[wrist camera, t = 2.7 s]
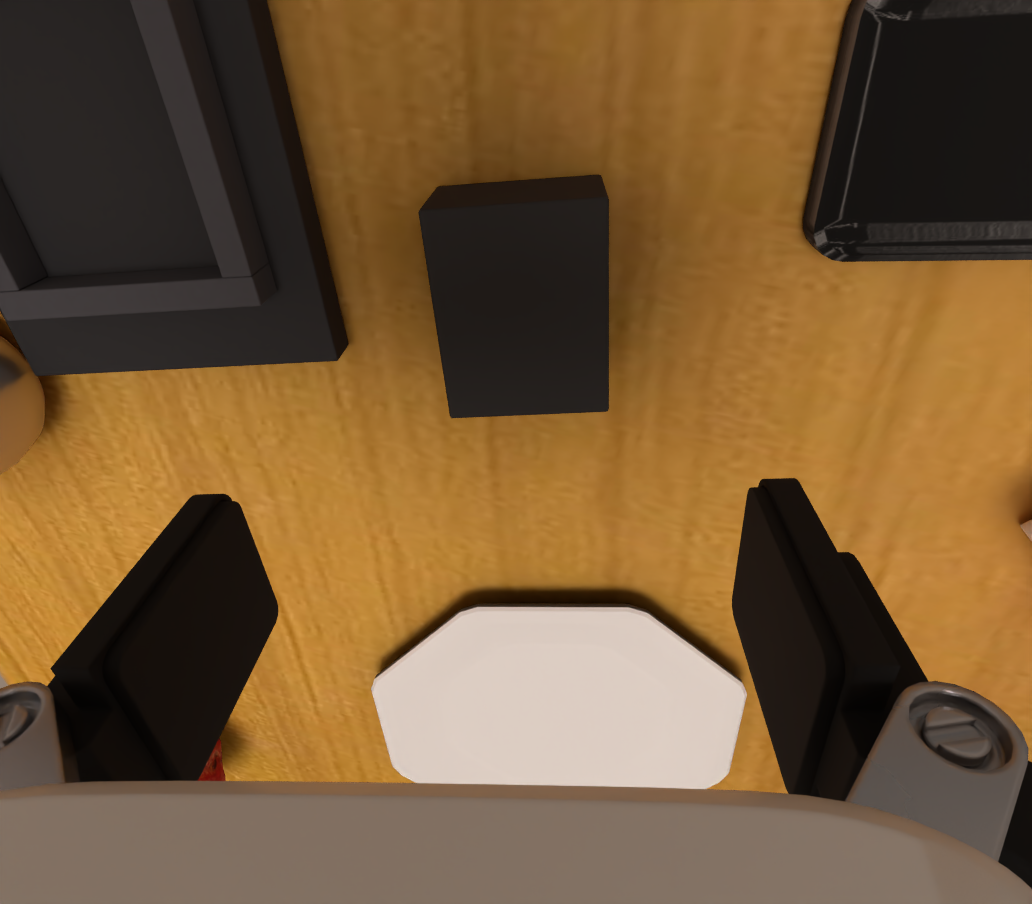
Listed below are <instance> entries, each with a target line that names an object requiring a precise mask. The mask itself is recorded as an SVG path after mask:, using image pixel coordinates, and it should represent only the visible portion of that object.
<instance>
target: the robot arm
mask: <svg viewBox="0 0 1032 904" xmlns="http://www.w3.org/2000/svg"><path fill="white" fill-rule="evenodd" d="M732 609H733V616H734V620H735V623H736V626H737V630H738V633H739V636H740V639H741V643H742V646H743V649H744V653H745V656H746V659H747V662H748V666H749V669H750V672H751V675H752V679H753V682H754V685H755V689H756V692H757V695H758V698H759V702H760V705H761V708H762V712H763V715H764V718H765V721H766V725H767V728H768V731H769V735H770V738H771V741H772V744H773V748H774V751H775V754H776V758H777V761H778V764H779V767H780V771H781V774H782V777H783V781H784V784H785V787H786V789H787V791H788V793H789V794H783V793H771V792H759V791H740V790H712V789H684V788H656V787H610V786H558V785H506V784H441V783H369V782H275V781H198V779H199V778H200V776H201V774H202V772H203V770H204V768H205V766H206V764H207V762H208V760H209V758H210V756H211V753H212V751H213V749H214V747H215V745H216V743H217V741H218V739H219V737H220V735H221V733H222V731H223V729H224V727H225V725H226V723H227V721H228V719H229V717H230V715H231V713H232V711H233V709H234V707H235V705H236V703H237V701H238V699H239V696H240V694H241V692H242V690H243V688H244V686H245V684H246V682H247V680H248V678H249V676H250V674H251V672H252V670H253V668H254V666H255V664H256V662H257V660H258V658H259V656H260V654H261V652H262V650H263V648H264V646H265V644H266V642H267V639H268V637H269V635H270V633H271V631H272V629H273V627H274V625H275V623H276V620H277V617H278V604H277V600H276V598H275V595H274V592H273V590H272V587H271V585H270V582H269V579H268V577H267V574H266V571H265V569H264V566H263V564H262V561H261V558H260V556H259V553H258V550H257V548H256V545H255V542H254V540H253V537H252V535H251V532H250V529H249V527H248V524H247V521H246V519H245V516H244V513H243V511H242V508H241V506H240V504H239V503H238V502H235V501H232V499H231V498H230V497H229V496H228V495H226V494H200V495H194V496H192V497H191V498H190V499H189V500H188V501H187V502H186V503H185V504H184V506H183V507H182V508H181V509H180V511H179V512H178V513H177V514H176V516H175V517H174V518H173V519H172V520H171V522H170V523H169V524H168V525H167V527H166V528H165V529H164V530H163V531H162V533H161V534H160V535H159V536H158V538H157V539H156V540H155V541H154V542H153V544H152V545H151V546H150V547H149V549H148V550H147V551H146V552H145V554H144V555H143V556H142V557H141V558H140V560H139V561H138V562H137V563H136V565H135V566H134V567H133V568H132V569H131V571H130V572H129V573H128V574H127V576H126V577H125V578H124V579H123V580H122V582H121V583H120V584H119V585H118V587H117V588H116V589H115V590H114V591H113V593H112V594H111V595H110V596H109V598H108V599H107V600H106V601H105V603H104V604H103V605H102V606H101V607H100V609H99V610H98V611H97V612H96V614H95V615H94V616H93V617H92V618H91V620H90V621H89V622H88V623H87V625H86V626H85V627H84V628H83V629H82V631H81V632H80V633H79V634H78V636H77V637H76V638H75V639H74V641H73V642H72V643H71V644H70V645H69V647H68V648H67V649H66V650H65V652H64V653H63V654H62V655H61V656H60V658H59V659H58V660H57V661H56V663H55V664H54V665H53V666H52V667H51V670H52V671H53V673H54V674H55V677H54V678H53V679H52V681H51V682H50V683H49V684H48V686H45V685H43V684H42V683H39V682H22V683H17V684H12V685H9V686H6V687H4V688H1V689H0V904H1032V762H1030V761H1028V747H1027V744H1026V742H1025V739H1024V737H1023V734H1022V732H1021V731H1020V729H1019V728H1018V727H1017V726H1016V724H1015V723H1014V722H1013V720H1012V719H1011V718H1010V717H1009V716H1008V715H1007V714H1006V713H1005V712H1004V711H1002V710H1001V709H1000V708H999V707H998V706H997V705H995V704H994V703H993V702H991V701H990V700H988V699H986V698H984V697H983V696H981V695H979V694H978V693H976V692H974V691H971V690H969V689H966V688H963V687H960V686H958V685H955V684H950V683H944V682H938V681H932V682H928V680H927V678H926V676H925V675H924V673H923V671H922V669H921V668H920V666H919V664H918V663H917V661H916V659H915V657H914V656H913V654H912V652H911V651H910V649H909V647H908V645H907V644H906V642H905V640H904V638H903V637H902V635H901V633H900V632H899V630H898V628H897V626H896V625H895V623H894V621H893V619H892V618H891V616H890V614H889V613H888V611H887V609H886V607H885V606H884V604H883V602H882V601H881V599H880V597H879V595H878V594H877V592H876V590H875V588H874V587H873V585H872V583H871V582H870V580H869V578H868V576H867V575H866V573H865V571H864V569H863V568H862V566H861V564H860V563H859V561H858V560H857V558H856V557H855V556H854V555H853V554H851V553H849V552H837V550H836V548H835V546H834V545H833V543H832V541H831V539H830V537H829V536H828V534H827V532H826V530H825V528H824V526H823V525H822V523H821V521H820V519H819V517H818V515H817V514H816V512H815V510H814V508H813V506H812V505H811V503H810V501H809V499H808V497H807V495H806V494H805V492H804V490H803V488H802V486H801V484H800V483H799V481H798V480H797V479H795V478H783V479H762V480H761V481H760V483H759V486H758V487H754V488H749V490H748V494H747V500H746V507H745V514H744V521H743V527H742V534H741V541H740V548H739V555H738V562H737V568H736V575H735V582H734V589H733V596H732Z"/></svg>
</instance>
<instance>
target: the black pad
mask: <svg viewBox="0 0 1032 904" xmlns="http://www.w3.org/2000/svg"><path fill="white" fill-rule="evenodd" d="M419 219H420V226H421V232H422V239H423V245H424V251H425V258H426V264H427V271H428V277H429V284H430V290H431V297H432V303H433V309H434V316H435V322H436V329H437V335H438V342H439V348H440V355H441V361H442V367H443V374H444V380H445V387H446V393H447V400H448V406H449V413H450V416H451V418H466V417H490V416H514V415H538V414H561V413H585V412H606V411H608V409H609V199H608V195H607V192H606V189H605V186H604V183H603V179H602V177H601V175H587V176H573V177H560V178H546V179H533V180H519V181H506V182H492V183H479V184H465V185H452V186H439V187H437V188H436V189H435V191H434V192H433V193H432V194H431V196H430V197H429V198H428V200H427V201H426V202H425V203H424V205H423V206H422V207H421V209H420V210H419Z"/></svg>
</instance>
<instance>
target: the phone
mask: <svg viewBox="0 0 1032 904" xmlns="http://www.w3.org/2000/svg"><path fill="white" fill-rule="evenodd" d="M803 230H804V233H805V236H806V239H807V240H808V241H809V242H810V244H811V245H812V246H813V247H814V248H815V249H817V250H818V251H819V252H820V253H821V254H823V255H824V256H826V257H828V258H829V259H831V260H835V261H842V262H856V261H951V260H1032V0H853V1H852V2H851V4H850V7H849V10H848V13H847V16H846V19H845V23H844V28H843V33H842V38H841V42H840V47H839V52H838V56H837V61H836V66H835V71H834V75H833V80H832V85H831V90H830V94H829V99H828V104H827V109H826V113H825V118H824V123H823V128H822V132H821V137H820V142H819V147H818V151H817V156H816V161H815V166H814V170H813V175H812V180H811V184H810V189H809V194H808V199H807V203H806V208H805V213H804V220H803Z"/></svg>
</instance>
